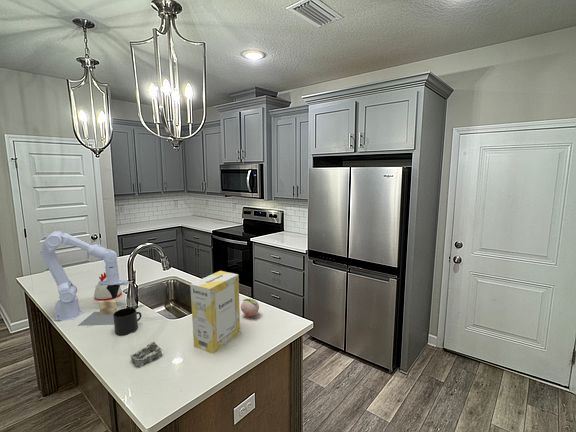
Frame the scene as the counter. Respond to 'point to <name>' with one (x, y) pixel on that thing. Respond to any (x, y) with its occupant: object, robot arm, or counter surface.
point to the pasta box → (215, 310)
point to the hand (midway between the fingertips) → (114, 297)
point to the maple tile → (107, 307)
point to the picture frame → (98, 319)
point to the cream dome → (104, 291)
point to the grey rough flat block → (143, 352)
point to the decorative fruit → (250, 307)
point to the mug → (126, 321)
